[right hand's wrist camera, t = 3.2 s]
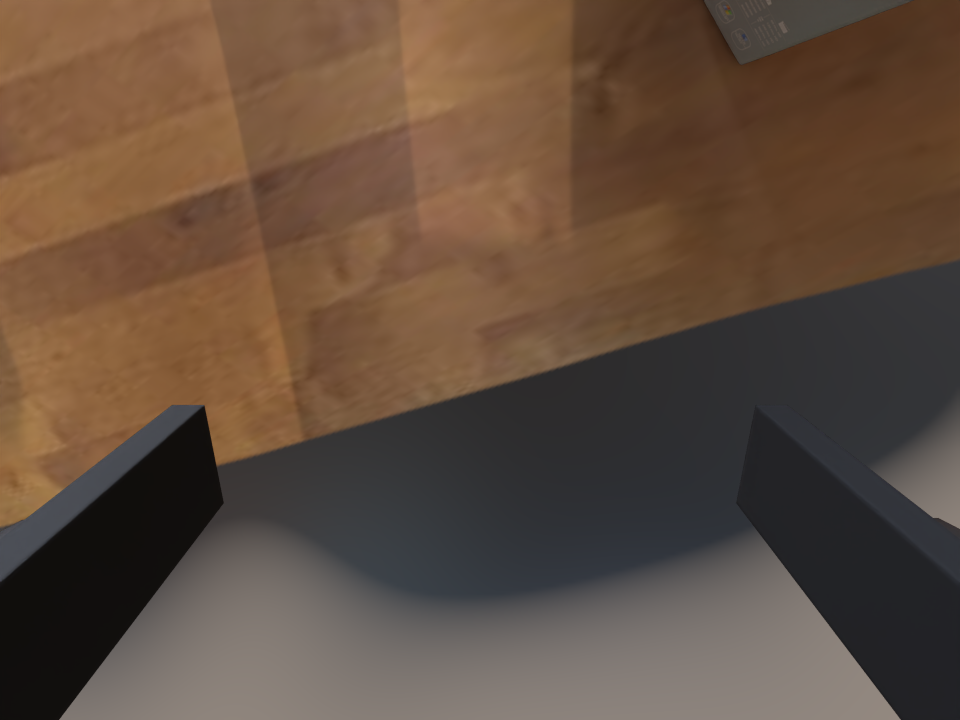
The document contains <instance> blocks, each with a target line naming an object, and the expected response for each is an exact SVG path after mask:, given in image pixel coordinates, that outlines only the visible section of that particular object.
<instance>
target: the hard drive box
mask: <svg viewBox="0 0 960 720" xmlns="http://www.w3.org/2000/svg"><path fill="white" fill-rule="evenodd" d="M910 1H913V0H704V2H705V4H706V6H707V8H708V9H709V11H710V13H711V15H712V16H713V18H714V20H715V22H716V24H717V25H718V27H719V29H720V31H721V33H722V34H723V36H724V38H725V40H726V42H727V43H728V45H729V47H730V49H731V50H732V52H733V54H734V56H735V58H736V59H737V61H738V62H739V64H741V65H743V64H746V63H748V62H751V61H754V60H757V59H760V58H763V57H765V56H768V55H771V54H773V53H776V52H779V51H781V50H784V49H787V48H789V47H792V46H794V45H797V44H800V43H802V42H805V41H808V40H810V39H813V38H815V37H818V36H821V35H823V34H826V33H829V32H831V31H834V30H837V29H839V28H842V27H845V26H847V25H850V24H852V23H855V22H858V21H860V20H863V19H866V18H868V17H871V16H874V15H876V14H879V13H881V12H884V11H887V10H889V9H892V8H895V7H897V6H900V5H903V4H905V3H908V2H910Z"/></svg>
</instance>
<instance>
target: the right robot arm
mask: <svg viewBox="0 0 960 720" xmlns="http://www.w3.org/2000/svg"><path fill="white" fill-rule="evenodd" d="M223 503H224V502H223V497H222V492H221V487H220V482H219V477H218V472H217V467H216V462H215V457H214V452H213V446H212V441H211V436H210V431H209V426H208V421H207V416H206V411H205V406H204V405H172V406H170V407H169V408H168V409H167V410H165V411H164V412H163V413H161V414H160V415H159V416H158V417H156V418H155V419H154V420H152V421H151V422H150V423H149V424H147V425H146V426H145V427H143V428H142V429H141V430H140V431H138V432H137V433H136V434H134V435H133V436H132V437H131V438H129V439H128V440H127V441H125V442H124V443H123V444H122V445H120V446H119V447H118V448H116V449H115V450H114V451H113V452H111V453H110V454H109V455H107V456H106V457H105V458H104V459H102V460H101V461H100V462H98V463H97V464H96V465H95V466H93V467H92V468H91V469H89V470H88V471H87V472H86V473H84V474H83V475H82V476H80V477H79V478H78V479H77V480H75V481H74V482H73V483H71V484H70V485H69V486H68V487H66V488H65V489H64V490H62V491H61V492H60V493H59V494H57V495H56V496H55V497H53V498H52V499H51V500H50V501H48V502H47V503H46V504H44V505H43V506H42V507H41V508H39V509H38V510H37V511H35V512H34V513H33V514H32V515H30V516H29V517H28V518H26V519H25V520H21V521H19V522H17V523H16V524H14V525H12V526H10V527H8V528H6V529H4V530H2V531H0V720H59V719H60V718H61V716H62V715H63V714H64V713H65V711H66V710H67V708H68V707H69V706H70V705H71V703H72V702H73V701H74V699H75V698H76V697H77V695H78V694H79V693H80V691H81V690H82V689H83V687H84V686H85V685H86V684H87V682H88V681H89V680H90V678H91V677H92V676H93V674H94V673H95V672H96V670H97V669H98V668H99V666H100V665H101V664H102V663H103V661H104V660H105V659H106V657H107V656H108V655H109V653H110V652H111V651H112V649H113V648H114V647H115V645H116V644H117V643H118V641H119V640H120V639H121V638H122V636H123V635H124V634H125V632H126V631H127V630H128V628H129V627H130V626H131V624H132V623H133V622H134V620H135V619H136V618H137V616H138V615H139V614H140V613H141V611H142V610H143V609H144V607H145V606H146V605H147V603H148V602H149V601H150V599H151V598H152V597H153V595H154V594H155V593H156V591H157V590H158V589H159V588H160V586H161V585H162V584H163V582H164V581H165V580H166V578H167V577H168V576H169V574H170V573H171V572H172V570H173V569H174V568H175V566H176V565H177V564H178V562H179V561H180V560H181V559H182V557H183V556H184V555H185V553H186V552H187V551H188V549H189V548H190V547H191V545H192V544H193V543H194V541H195V540H196V539H197V537H198V536H199V535H200V534H201V532H202V531H203V530H204V528H205V527H206V526H207V524H208V523H209V522H210V520H211V519H212V518H213V516H214V515H215V514H216V512H217V511H218V510H219V509H220V507H221V506H222V505H223ZM737 505H738V506H739V507H740V509H741V510H742V511H743V512H744V514H745V515H746V516H747V518H748V519H749V520H750V522H751V523H752V524H753V526H754V527H755V528H756V530H757V531H758V532H759V534H760V535H761V536H762V537H763V539H764V540H765V541H766V543H767V544H768V545H769V547H770V548H771V549H772V551H773V552H774V553H775V555H776V556H777V557H778V559H779V560H780V561H781V563H782V564H783V565H784V566H785V568H786V569H787V570H788V572H789V573H790V574H791V576H792V577H793V578H794V580H795V581H796V582H797V584H798V585H799V586H800V587H801V589H802V590H803V591H804V593H805V594H806V595H807V597H808V598H809V599H810V601H811V602H812V603H813V605H814V606H815V607H816V609H817V610H818V611H819V613H820V614H821V615H822V616H823V618H824V619H825V620H826V622H827V623H828V624H829V626H830V627H831V628H832V630H833V631H834V632H835V634H836V635H837V636H838V638H839V639H840V640H841V641H842V643H843V644H844V645H845V647H846V648H847V649H848V651H849V652H850V653H851V655H852V656H853V657H854V659H855V660H856V661H857V663H858V664H859V665H860V666H861V668H862V669H863V670H864V672H865V673H866V674H867V676H868V677H869V678H870V680H871V681H872V682H873V684H874V685H875V686H876V688H877V689H878V690H879V691H880V693H881V694H882V695H883V697H884V698H885V699H886V701H887V702H888V703H889V705H890V706H891V707H892V709H893V710H894V711H895V713H896V714H897V715H898V716H899V718H900V719H901V720H960V529H959V528H957V527H955V526H953V525H951V524H949V523H947V522H945V521H943V520H941V519H939V518H932V517H931V516H930V515H928V514H927V513H926V512H925V511H923V510H922V509H921V508H919V507H918V506H917V505H916V504H914V503H913V502H912V501H910V500H909V499H908V498H907V497H905V496H904V495H903V494H901V493H900V492H899V491H898V490H896V489H895V488H894V487H892V486H891V485H890V484H889V483H887V482H886V481H885V480H883V479H882V478H881V477H879V476H878V475H877V474H876V473H874V472H873V471H872V470H871V469H869V468H868V467H867V466H865V465H864V464H863V463H862V462H860V461H859V460H858V459H856V458H855V457H854V456H853V455H851V454H850V453H849V452H847V451H846V450H845V449H844V448H842V447H841V446H840V445H838V444H837V443H836V442H835V441H833V440H832V439H831V438H829V437H828V436H827V435H826V434H824V433H823V432H822V431H820V430H819V429H818V428H817V427H815V426H814V425H813V424H811V423H810V422H809V421H808V420H806V419H805V418H804V417H802V416H801V415H800V414H799V413H797V412H796V411H795V410H793V409H792V408H791V407H790V406H788V405H756V406H755V411H754V416H753V421H752V426H751V431H750V436H749V441H748V446H747V452H746V457H745V462H744V467H743V472H742V477H741V482H740V487H739V492H738V497H737Z"/></svg>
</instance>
